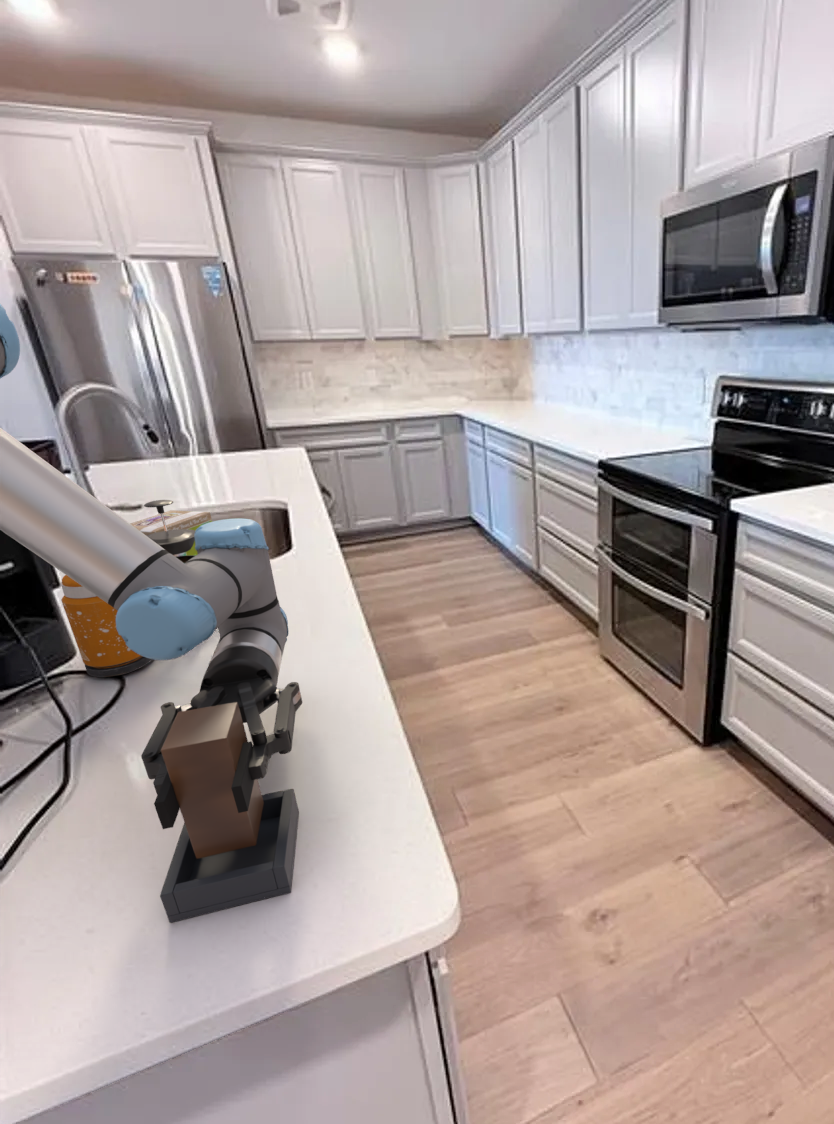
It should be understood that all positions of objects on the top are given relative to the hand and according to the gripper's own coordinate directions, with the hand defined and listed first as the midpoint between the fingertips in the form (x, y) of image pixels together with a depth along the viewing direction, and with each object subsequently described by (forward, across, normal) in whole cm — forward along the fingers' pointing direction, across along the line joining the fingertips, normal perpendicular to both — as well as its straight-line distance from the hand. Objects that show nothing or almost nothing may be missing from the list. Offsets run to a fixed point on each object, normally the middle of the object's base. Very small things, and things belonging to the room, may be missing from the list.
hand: (202, 807), depth 51 cm
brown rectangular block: (-5, 0, -7) cm, 9 cm away
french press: (-67, +17, -11) cm, 70 cm away
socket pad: (-5, 0, -11) cm, 12 cm away
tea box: (-89, +23, -11) cm, 93 cm away
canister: (-54, +23, -11) cm, 60 cm away
